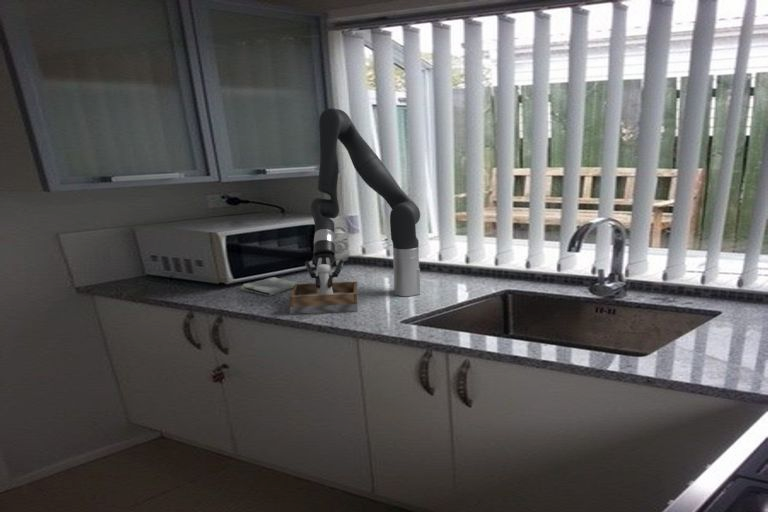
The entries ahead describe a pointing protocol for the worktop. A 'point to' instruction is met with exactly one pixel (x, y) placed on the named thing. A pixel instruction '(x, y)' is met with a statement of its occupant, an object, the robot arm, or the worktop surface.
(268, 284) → the dish towel
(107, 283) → the worktop surface
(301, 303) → the bore box
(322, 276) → the salt shaker
